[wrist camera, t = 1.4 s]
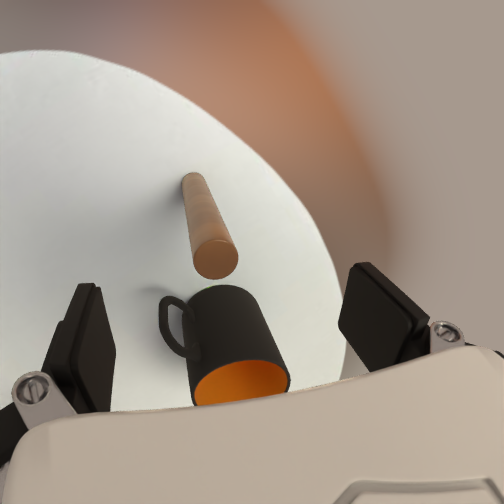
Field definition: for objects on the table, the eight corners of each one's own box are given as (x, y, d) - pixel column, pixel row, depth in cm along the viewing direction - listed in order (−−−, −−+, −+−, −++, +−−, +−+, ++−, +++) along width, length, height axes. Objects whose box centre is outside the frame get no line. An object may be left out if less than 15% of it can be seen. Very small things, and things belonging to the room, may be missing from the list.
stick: (181, 172, 25) (192, 240, 13) (205, 171, 26) (239, 238, 14) (181, 195, 26) (194, 281, 14) (205, 194, 27) (238, 278, 14)
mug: (186, 248, 28) (196, 318, 19) (274, 309, 34) (310, 378, 25) (136, 307, 30) (130, 387, 21) (224, 356, 35) (244, 428, 26)
